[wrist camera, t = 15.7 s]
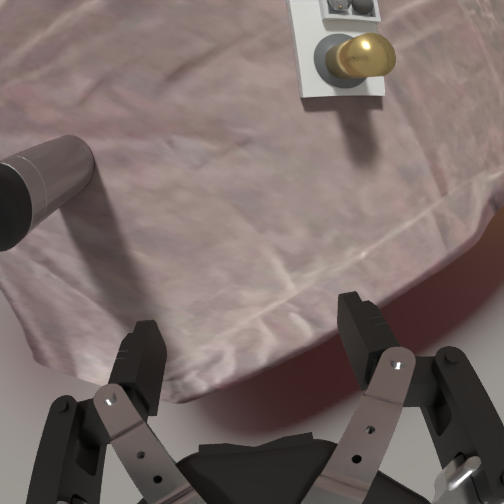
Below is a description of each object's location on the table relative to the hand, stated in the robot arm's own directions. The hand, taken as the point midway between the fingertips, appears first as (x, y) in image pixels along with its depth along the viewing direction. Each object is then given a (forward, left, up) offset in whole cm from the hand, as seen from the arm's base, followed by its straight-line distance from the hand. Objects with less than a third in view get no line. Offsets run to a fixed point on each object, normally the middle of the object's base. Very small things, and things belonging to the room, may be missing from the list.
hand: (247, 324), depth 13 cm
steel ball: (+16, +21, -30) cm, 40 cm away
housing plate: (+16, +16, -33) cm, 40 cm away
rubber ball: (+20, +21, -30) cm, 42 cm away
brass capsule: (+16, +13, -31) cm, 37 cm away
